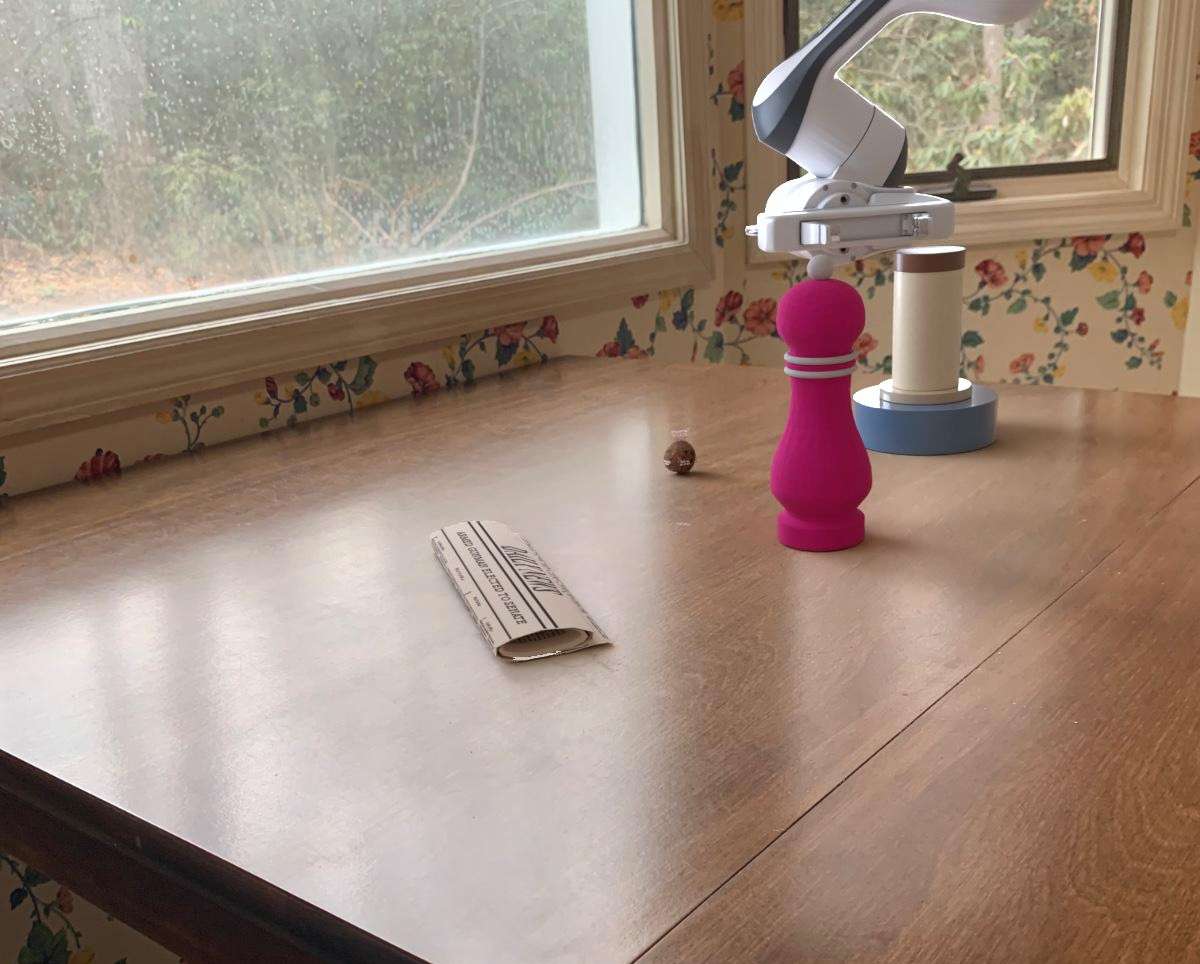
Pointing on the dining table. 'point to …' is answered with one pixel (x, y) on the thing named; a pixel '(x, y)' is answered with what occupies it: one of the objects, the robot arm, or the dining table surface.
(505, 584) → the newspaper
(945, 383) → the canister
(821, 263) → the pepper mill
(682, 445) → the chocolate
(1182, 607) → the dining table surface
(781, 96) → the robot arm
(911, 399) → the two-tier round pedestal
